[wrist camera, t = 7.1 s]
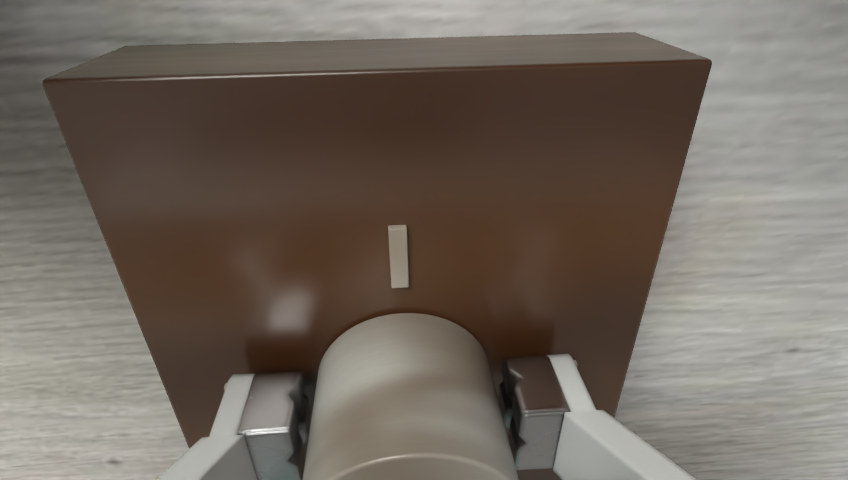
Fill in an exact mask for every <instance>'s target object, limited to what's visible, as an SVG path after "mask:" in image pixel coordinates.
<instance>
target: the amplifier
mask: <svg viewBox="0 0 848 480" xmlns="http://www.w3.org/2000/svg"><path fill="white" fill-rule="evenodd" d="M711 65H712V61H711V60H710V59H708V58H705V57H702V56H699V55H696V54H694V53H691V52H688V51H685V50H682V49H680V48H677V47H674V46H671V45H669V44H666V43H663V42H660V41H657V40H655V39H652V38H649V37H646V36H643V35H641V34H638V33H635V32H633V33H596V34H558V35H521V36H484V37H446V38H409V39H372V40H334V41H297V42H260V43H222V44H185V45H147V46H124V47H122V48H119V49H117V50H114V51H112V52H110V53H107V54H105V55H102V56H100V57H97V58H95V59H93V60H90V61H88V62H85V63H83V64H80V65H78V66H76V67H73V68H71V69H68V70H66V71H63V72H61V73H59V74H56V75H54V76H51V77H49V78H46V79H45V80H43V81H42V85H43V88H44V90H45V93H46V95H47V97H48V100H49V102H50V105H51V107H52V110H53V112H54V115H55V117H56V120H57V122H58V125H59V127H60V130H61V132H62V135H63V137H64V140H65V142H66V145H67V147H68V149H69V152H70V154H71V157H72V159H73V162H74V164H75V167H76V169H77V172H78V174H79V177H80V179H81V182H82V184H83V187H84V189H85V192H86V194H87V197H88V199H89V201H90V204H91V206H92V209H93V211H94V214H95V216H96V219H97V221H98V224H99V226H100V229H101V231H102V234H103V236H104V239H105V241H106V244H107V246H108V249H109V251H110V253H111V256H112V258H113V261H114V263H115V266H116V268H117V271H118V273H119V276H120V278H121V281H122V283H123V286H124V288H125V291H126V293H127V296H128V298H129V301H130V303H131V305H132V308H133V310H134V313H135V315H136V318H137V320H138V323H139V325H140V328H141V330H142V333H143V335H144V338H145V340H146V343H147V345H148V348H149V350H150V353H151V355H152V357H153V360H154V362H155V365H156V367H157V370H158V372H159V375H160V377H161V380H162V382H163V385H164V387H165V390H166V392H167V395H168V397H169V400H170V402H171V405H172V407H173V409H174V412H175V414H176V417H177V419H178V422H179V424H180V427H181V429H182V432H183V434H184V437H185V439H186V442H187V444H188V447H189V449H190V448H191V447H192V446H193V445H194V444H195V443H196V442H197V441H199V440H200V439H201V438H202V437H209V435H210V432H211V429H212V427H213V424H214V421H215V418H216V415H217V412H218V409H219V406H220V403H221V401H222V398H223V395H224V392H225V389H226V386H227V383H228V380H229V379H230V378H231V376H232V375H233V374H252V373H267V372H293V371H301V372H303V374H304V379H305V389H304V394H305V395H306V396H308V399H309V405H310V425H311V418H312V411H313V404H314V397H315V390H316V383H317V376H318V369H319V366H320V363H321V360H322V358H323V356H324V354H325V353H326V351H327V350H328V348H329V347H330V346H331V344H332V343H333V342H334V341H335V340H336V339H337V338H338V337H339V336H341V335H342V334H343V333H344V332H346V331H347V330H349V329H350V328H352V327H354V326H355V325H357V324H359V323H362V322H364V321H366V320H369V319H372V318H375V317H378V316H383V315H388V314H395V313H422V314H429V315H433V316H438V317H441V318H444V319H447V320H449V321H451V322H454V323H456V324H458V325H459V326H461V327H462V328H464V329H465V330H467V331H468V332H469V333H470V334H471V335H473V336H474V337H475V339H476V340H477V341H478V342H479V343H480V344H481V346H482V348H483V349H484V351H485V353H486V356H487V358H488V362H489V366H490V370H491V374H492V378H493V382H494V385H495V389H496V393H497V397H498V401H499V386H500V384H501V383H502V382H503V376H502V373H501V366H502V361H503V358H513V357H527V356H541V355H545V356H546V355H555V354H569V355H570V356H571V357H572V359H573V361H574V363H575V365H576V367H577V369H578V371H579V374H580V376H581V378H582V380H583V382H584V384H585V387H586V389H587V391H588V393H589V395H590V397H591V399H592V402H593V404H594V406H595V408H596V410H604V411H605V412H607V413H608V414H609V415H611V416H612V417H613V418H614V416H615V413H616V409H617V406H618V402H619V398H620V395H621V391H622V388H623V384H624V380H625V377H626V373H627V369H628V366H629V362H630V359H631V355H632V351H633V348H634V344H635V340H636V337H637V333H638V330H639V326H640V322H641V319H642V315H643V311H644V308H645V304H646V301H647V297H648V293H649V290H650V286H651V282H652V279H653V275H654V272H655V268H656V264H657V261H658V257H659V254H660V250H661V246H662V243H663V239H664V235H665V232H666V228H667V225H668V221H669V217H670V214H671V210H672V206H673V203H674V199H675V196H676V192H677V188H678V185H679V181H680V177H681V174H682V170H683V167H684V163H685V159H686V156H687V152H688V148H689V145H690V141H691V138H692V134H693V130H694V127H695V123H696V120H697V116H698V112H699V109H700V105H701V101H702V98H703V94H704V91H705V87H706V83H707V80H708V76H709V72H710V69H711ZM309 432H310V431H309ZM506 432H507V436H508V437H509V431H508V430H507V429H506ZM307 445H308V441H307V442H306V443H305V444H304V445H303V447H304V452H305V457H306V452H307ZM516 471H517V475H518V479H519V480H561V478H560V477H559V476H558V475H557V474H556V473H555V472H554V471H553V468H548V469H527V470H516ZM302 480H303V479H302Z"/></svg>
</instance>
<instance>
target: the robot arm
mask: <svg viewBox="0 0 848 480" xmlns="http://www.w3.org/2000/svg"><path fill="white" fill-rule="evenodd" d="M501 373H502V376H503V382H502V383H501V384H500V386H499V405H500V409H501V413H502V417H503V420H504V424H505V428H506V429H507V430H508V431H509V437H508V440H509V444H510V448H511V451H512V455H513V459H514V463H515V467H516V470H527V469H548V468H553V471H554V472H555V473H556V474H557V475H558V476H559V477H560V478H561V480H697V479H696V478H694V477H693V476H692V475H690V474H689V473H687V472H686V471H685V470H683V469H682V468H681V467H679V466H678V465H677V464H675V463H674V462H673V461H671V460H670V459H669V458H667V457H666V456H665V455H663V454H662V453H661V452H659V451H658V450H657V449H655V448H654V447H652V446H651V445H650V444H648V443H647V442H646V441H644V440H643V439H642V438H640V437H639V436H638V435H636V434H635V433H634V432H632V431H631V430H630V429H628V428H627V427H626V426H624V425H623V424H621V423H620V422H619V421H617V420H616V419H615V418H613V417H612V416H611V415H609V414H608V413H607V412H605V411H604V410H596V408H595V406H594V404H593V402H592V399H591V397H590V395H589V393H588V391H587V389H586V387H585V384H584V382H583V380H582V378H581V376H580V374H579V371H578V369H577V367H576V365H575V363H574V361H573V359H572V357H571V356H570V355H569V354H555V355H546V356H545V355H541V356H527V357H513V358H503V361H502V366H501ZM304 389H305V379H304V374H303V372H301V371H293V372H267V373H252V374H233V375H232V376H231V378H230V379H229V380H228V383H227V386H226V389H225V392H224V395H223V398H222V401H221V403H220V406H219V409H218V412H217V415H216V418H215V421H214V424H213V427H212V429H211V432H210V435H209V437H202V438H201V439H200V440H199V441H197V442H196V443H195V444H194V445H193V446H192V447H191V448H190V449H189V450H188V451H187V452H185V453H184V454H183V455H182V456H181V457H180V458H179V459H178V460H177V461H176V462H175V463H173V464H172V465H171V466H170V467H169V468H168V469H167V470H166V471H165V472H164V473H162V474H161V475H160V476H159V477H158V478H157V479H156V480H302V479H303V473H304V466H305V459H306V457H305V452H304V447H303V445H304V444H305V443H306V442H307V441H308V438H309V431H310V405H309V399H308V396H306V395H305V394H304Z"/></svg>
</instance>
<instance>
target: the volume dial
mask: <svg viewBox="0 0 848 480" xmlns="http://www.w3.org/2000/svg"><path fill="white" fill-rule="evenodd" d="M303 480H519V479H518V475H517V471H516V467H515V463H514V459H513V455H512V451H511V448H510V444H509V440H508V436H507V432H506V428H505V424H504V420H503V417H502V413H501V409H500V405H499V401H498V397H497V393H496V389H495V385H494V382H493V378H492V374H491V370H490V366H489V362H488V358H487V356H486V353H485V351H484V349H483V348H482V346H481V344H480V343H479V342H478V341H477V340H476V339H475V337H474V336H473V335H471V334H470V333H469V332H468V331H467V330H465V329H464V328H462V327H461V326H459V325H458V324H456V323H454V322H451V321H449V320H447V319H444V318H441V317H438V316H433V315H429V314H422V313H395V314H388V315H383V316H378V317H375V318H372V319H369V320H366V321H364V322H362V323H359V324H357V325H355V326H354V327H352V328H350V329H349V330H347V331H346V332H344V333H343V334H342V335H341V336H339V337H338V338H337V339H336V340H335V341H334V342H333V343H332V344H331V346H330V347H329V348H328V350H327V351H326V353H325V354H324V356H323V358H322V360H321V363H320V366H319V369H318V376H317V383H316V390H315V397H314V404H313V411H312V418H311V425H310V432H309V438H308V445H307V452H306V459H305V466H304V473H303Z"/></svg>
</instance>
